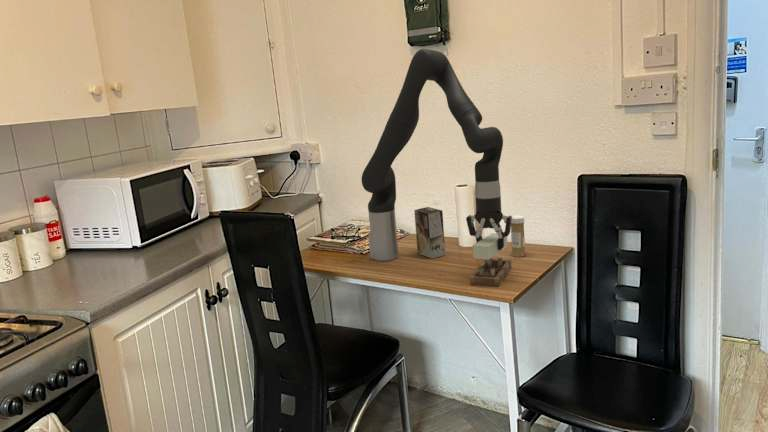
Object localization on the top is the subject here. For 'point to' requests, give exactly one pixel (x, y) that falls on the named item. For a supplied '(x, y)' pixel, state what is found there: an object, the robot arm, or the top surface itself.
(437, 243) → the coffee box
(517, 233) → the sprinkles bottle
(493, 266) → the peg frame
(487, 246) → the pale green block
